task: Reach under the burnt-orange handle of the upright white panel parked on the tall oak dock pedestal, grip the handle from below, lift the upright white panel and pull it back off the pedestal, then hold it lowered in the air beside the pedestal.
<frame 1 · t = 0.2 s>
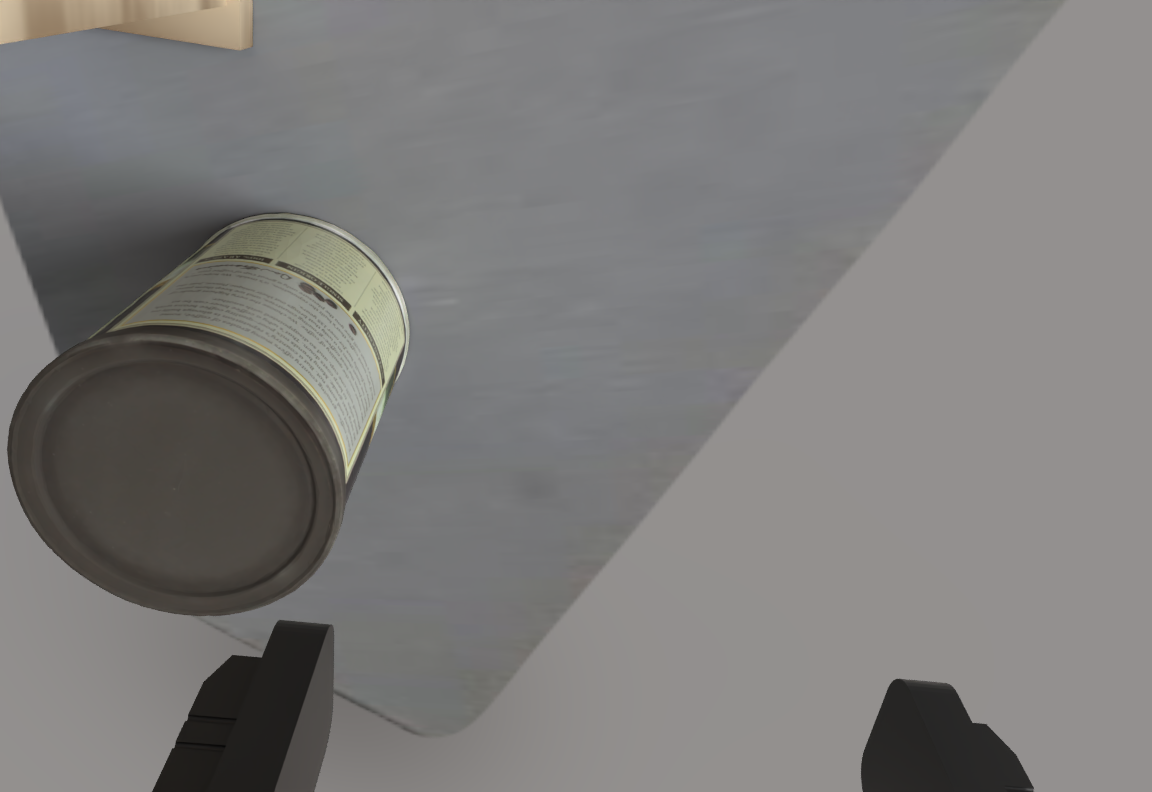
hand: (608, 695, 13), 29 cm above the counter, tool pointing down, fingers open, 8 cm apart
coffee can: (299, 321, 42), on the counter
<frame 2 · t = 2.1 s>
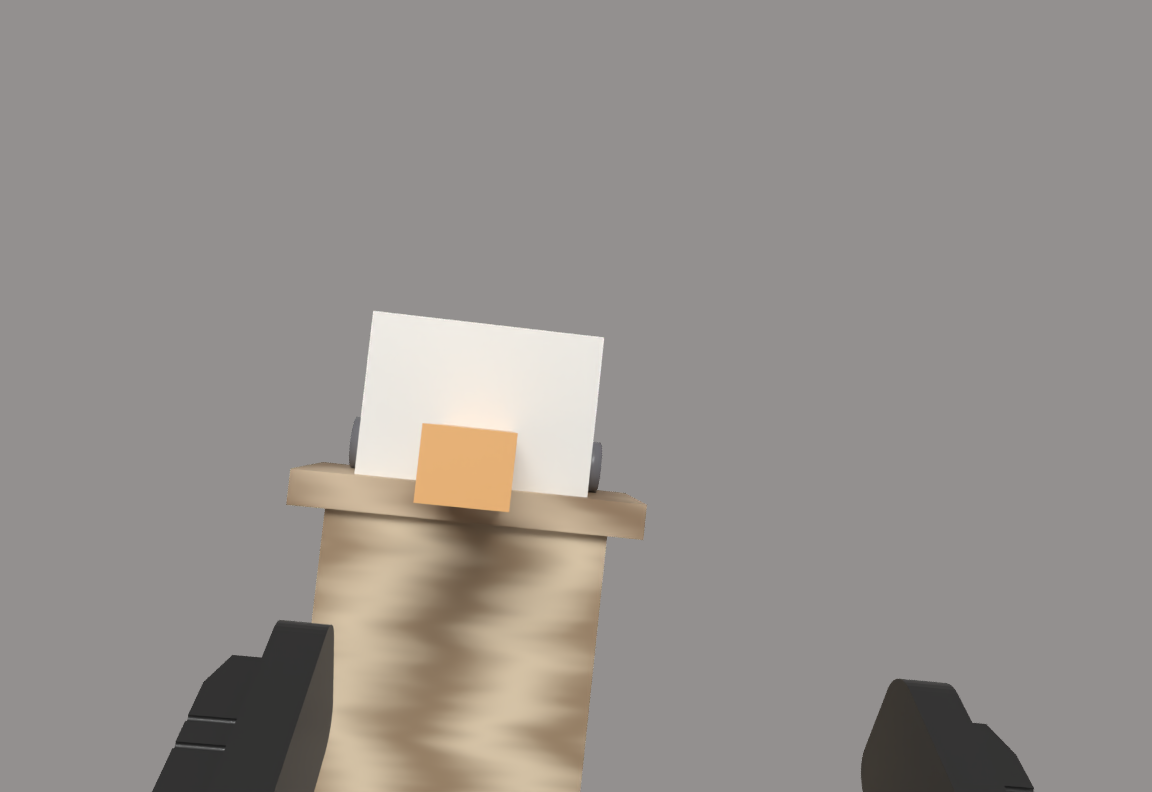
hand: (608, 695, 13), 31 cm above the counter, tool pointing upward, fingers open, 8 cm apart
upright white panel: (473, 482, 42), point 32 cm above the counter, touching dock pedestal
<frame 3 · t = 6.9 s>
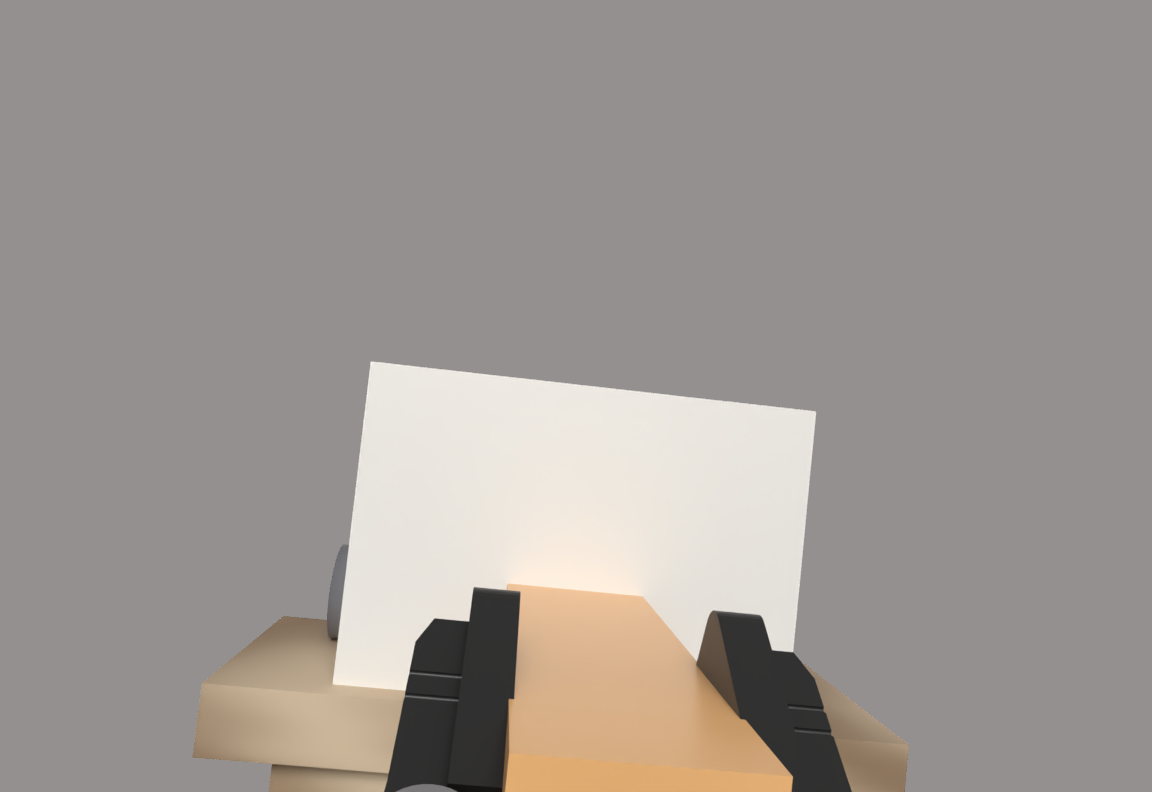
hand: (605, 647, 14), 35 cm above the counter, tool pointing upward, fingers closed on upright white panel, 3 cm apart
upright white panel: (556, 672, 23), point 32 cm above the counter, touching dock pedestal, gripper
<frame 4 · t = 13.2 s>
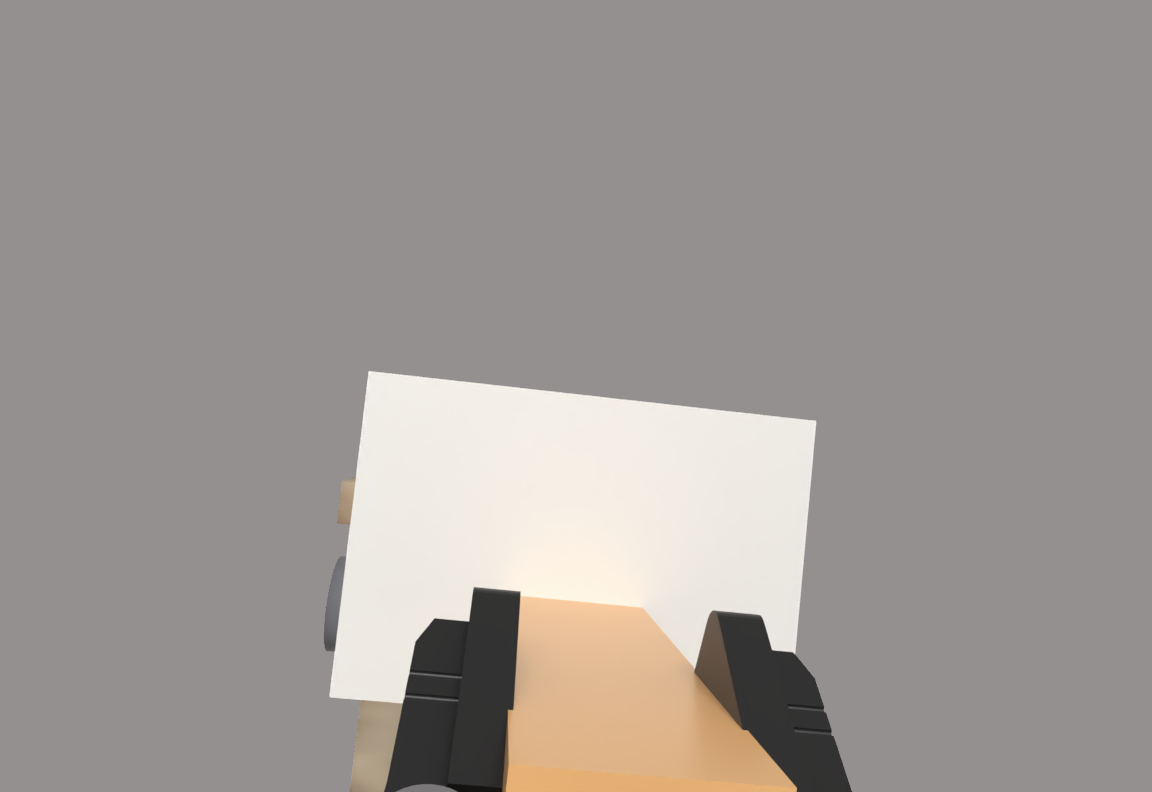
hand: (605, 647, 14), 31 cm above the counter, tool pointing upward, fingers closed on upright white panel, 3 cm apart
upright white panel: (555, 684, 23), point 28 cm above the counter, touching gripper
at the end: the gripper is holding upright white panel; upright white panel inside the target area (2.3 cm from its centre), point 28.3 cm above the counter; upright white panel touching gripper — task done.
